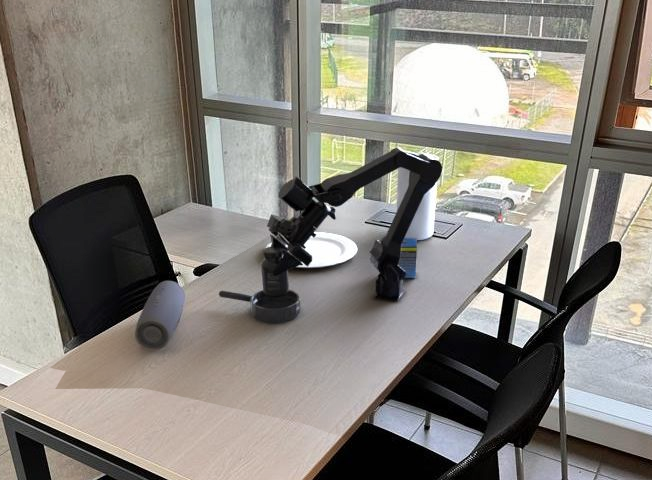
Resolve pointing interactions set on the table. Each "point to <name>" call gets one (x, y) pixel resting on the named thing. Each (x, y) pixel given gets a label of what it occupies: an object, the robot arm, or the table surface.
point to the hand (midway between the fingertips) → (269, 269)
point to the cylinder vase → (426, 211)
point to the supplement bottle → (271, 283)
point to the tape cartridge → (409, 257)
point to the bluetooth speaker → (160, 315)
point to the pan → (275, 307)
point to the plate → (328, 250)
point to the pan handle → (235, 296)
